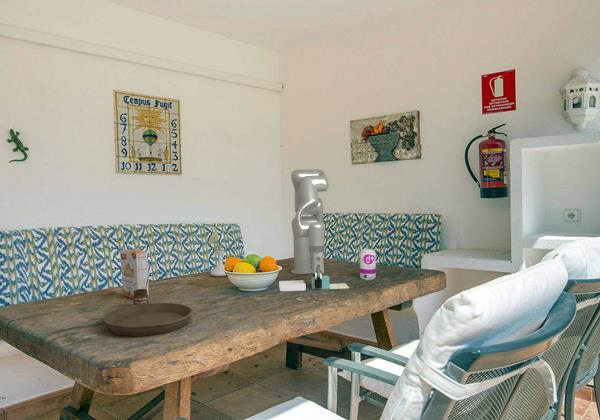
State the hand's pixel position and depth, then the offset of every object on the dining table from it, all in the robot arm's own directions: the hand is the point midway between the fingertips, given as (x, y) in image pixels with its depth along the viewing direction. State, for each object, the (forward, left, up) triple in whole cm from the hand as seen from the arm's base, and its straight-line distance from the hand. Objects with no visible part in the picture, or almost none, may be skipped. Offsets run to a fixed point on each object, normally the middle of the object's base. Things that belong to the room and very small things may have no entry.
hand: (317, 285), depth 230 cm
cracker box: (+6, -83, -1) cm, 83 cm away
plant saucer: (+52, -67, -1) cm, 85 cm away
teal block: (0, +1, -1) cm, 2 cm away
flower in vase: (-40, -49, -1) cm, 63 cm away
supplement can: (-19, +29, -1) cm, 35 cm away
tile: (-1, +10, -1) cm, 10 cm away
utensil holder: (+25, -76, -1) cm, 80 cm away
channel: (0, -12, -1) cm, 12 cm away
